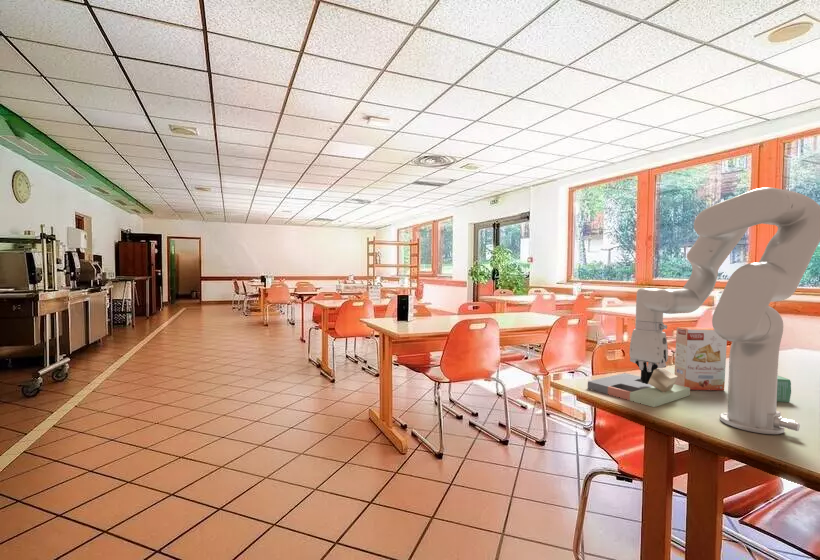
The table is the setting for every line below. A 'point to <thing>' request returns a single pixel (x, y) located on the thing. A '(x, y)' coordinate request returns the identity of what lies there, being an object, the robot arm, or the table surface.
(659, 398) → the platform
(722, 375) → the cracker box
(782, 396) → the box
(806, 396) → the table surface
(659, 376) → the block
